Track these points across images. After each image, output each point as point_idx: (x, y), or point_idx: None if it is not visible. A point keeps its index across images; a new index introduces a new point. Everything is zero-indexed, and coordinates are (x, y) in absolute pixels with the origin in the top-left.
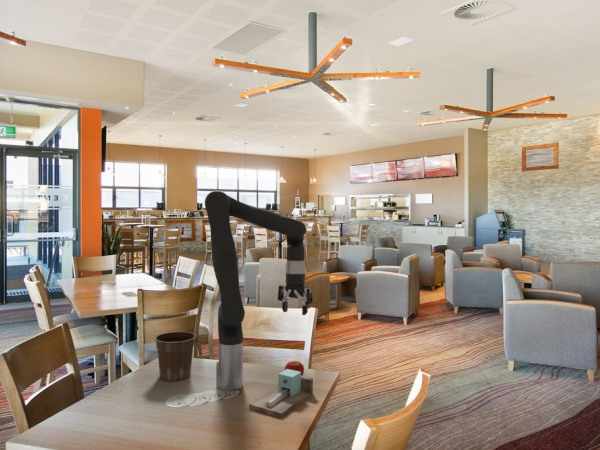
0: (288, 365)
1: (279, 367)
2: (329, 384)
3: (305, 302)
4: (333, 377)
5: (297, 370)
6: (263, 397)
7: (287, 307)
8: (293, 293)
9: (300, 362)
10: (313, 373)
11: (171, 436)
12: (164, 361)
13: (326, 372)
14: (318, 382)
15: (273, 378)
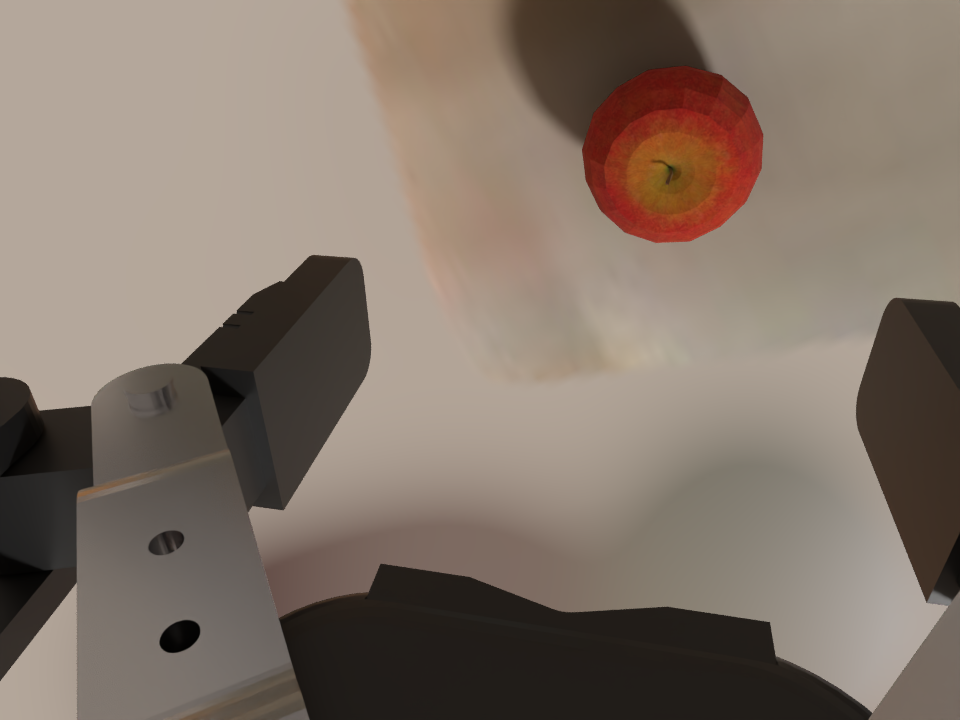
0: (709, 107)
1: None
2: (411, 189)
3: (100, 447)
4: (447, 308)
5: (611, 102)
6: None
7: (879, 474)
8: None
9: (630, 219)
10: (594, 315)
11: None
12: None
13: (524, 364)
14: (491, 186)
15: (855, 82)
